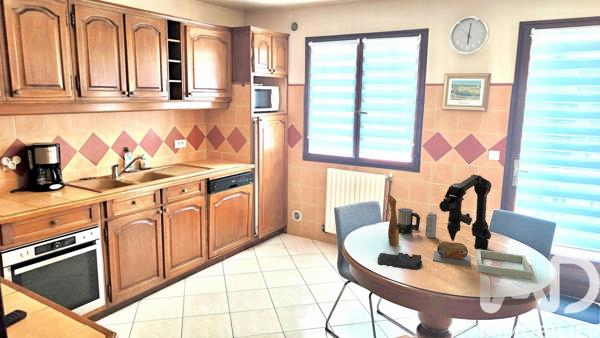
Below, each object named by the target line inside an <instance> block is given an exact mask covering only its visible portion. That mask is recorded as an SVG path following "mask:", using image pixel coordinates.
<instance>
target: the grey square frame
mask: <svg viewBox="0 0 600 338" xmlns="http://www.w3.org/2000/svg"><path fill="white" fill-rule="evenodd" d="M482 258H485V259H492V260H500V261H506V262H515V263H521V265H522V267H523V269H520V268H519V269H518V268H517V269H516V268H512V267H503V266H497V265H489V264H483V263H482ZM476 263H477V264H476V265H477V272H478V273H485V274H490V275H491V274H492V275H497V276H498V275H500V276H503V277H504V276H505V277H512V278H518V279H525V280H532V279H533V271H532V269H531V267H530V264H529V262H528V259H527V257H526V255H522V254H515V253H507V252H500V251H494V250H493V251H491V250H484V249H477V248H476Z"/></svg>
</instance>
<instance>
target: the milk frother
mask: <svg viewBox="0 0 600 338" xmlns="http://www.w3.org/2000/svg"><path fill="white" fill-rule="evenodd" d="M397 211H398V212H397V222H398V232H399V234H400V233H402V234H401V235H411V234H412V233H413V230H415V231H416V232H417V231H419V230H420V225H421V215H420V214H418V213H417V212H414V209H411V208H406V207H400V208H397ZM414 218H416V221H415V223H414V224H413V219H414Z"/></svg>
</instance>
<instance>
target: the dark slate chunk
mask: <svg viewBox="0 0 600 338" xmlns="http://www.w3.org/2000/svg"><path fill="white" fill-rule="evenodd" d="M422 263H423V260H422V255H421V254H411V255H409V253H403V252H398V253H397V254H393V253H387V252H386V253H385V252H380V253H379V254H378V256H377V265H379V266H382V265H387V266H386V267H389V266H392V267H391V268H399V269H404V270H405V269H406V270H414V271H415V270H416V271H418V270H421V267H422Z"/></svg>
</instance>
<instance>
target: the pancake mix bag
mask: <svg viewBox="0 0 600 338" xmlns="http://www.w3.org/2000/svg"><path fill="white" fill-rule="evenodd" d="M387 200H388V204H389V207H390V218H389V223H388V229H387V238H388V242H389V246H391V245H392V246H391V247H393V246H394V247H395V248H396V247H398V246H399V242H400V236H399V235H400V233H399V232H398V215H397V200H396V199H395V198H394V196H393V195H391V194H390V193H388V194H387ZM394 247H393V248H394Z"/></svg>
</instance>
